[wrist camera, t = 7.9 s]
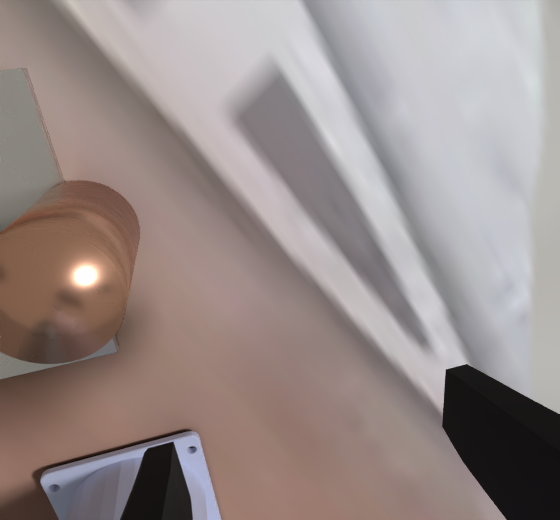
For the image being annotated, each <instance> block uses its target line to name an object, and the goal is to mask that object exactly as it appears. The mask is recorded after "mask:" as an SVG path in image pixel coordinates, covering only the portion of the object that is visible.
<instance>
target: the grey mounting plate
mask: <svg viewBox="0 0 560 520" xmlns="http://www.w3.org/2000/svg"><path fill="white" fill-rule="evenodd" d="M63 183H65V182H64V179H63V176H62V173H61V170H60V167H59V164H58V161H57V158H56V155H55V152H54V149H53V146H52V143H51V140H50V137H49V134H48V131H47V128H46V125H45V122H44V119H43V116H42V113H41V110H40V107H39V104H38V101H37V98H36V95H35V92H34V89H33V86H32V83H31V80H30V77H29V74H28V71H27V69H26V68H17V69H9V70H1V71H0V233H1V232H2V231H3V230H4V229H5V228H6V227H7V226H9V225H10V224H11V223H12V222H13V221H14V220H15V219H17V218H18V217H19V216H20V215H21V214H22V213H23V212H24V211H26V210H27V209H28V208H29V207H30V206H31V205H32V204H34V203H35V202H36V201H37V200H38V199H39V198H40V197H41V196H43V195H44V194H45V193H46V192H47V191H49V190H50V189H52V188H54V187H55V186H57V185H60V184H63ZM118 347H119V344H118V341H117V338H116V335H114V337H113V338H112V339H111V340H110V341H109V342H108V343H107V344H106V345H105V346H103V347H102V348H101V349H99V350H98V351H96V352H94V353H93V354H91V355H89V356H86V357H84V358H82V359H79V360H75V361H72V362H66V363H59V364H39V363H31V362H27V361H22V360H19V359H16V358H13V357H10V356H8V355H6V354H4V353H1V352H0V379H4V378H8V377H13V376H17V375H21V374H26V373H30V372H34V371H39V370H43V369H47V368H52V367H56V366H60V365H65V364H69V363H73V362H78V361H82V360H86V359H90V358H95V357H99V356H103V355H108V354H112V353H116V352H118Z"/></svg>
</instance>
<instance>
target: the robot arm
mask: <svg viewBox="0 0 560 520" xmlns="http://www.w3.org/2000/svg"><path fill="white" fill-rule="evenodd" d="M442 427H443V428H444V430H445V432H446V434H447V435H448V437H449V439H450V441H451V442H452V444H453V446H454V448H455V449H456V451H457V452H458V454H459V456H460V457H461V459H462V461H463V462H464V464H465V465H466V466H467V468H468V469H469V470H470V472H471V473H472V475H473V476H474V477H475V479H476V480H477V481H478V482H479V484H480V485H481V486H482V488H483V489H484V490H485V492H486V493H487V494H488V496H489V497H490V498H491V500H492V501H493V502H494V504H495V505H496V506H497V508H498V509H499V510H500V511H501V513H502V514H503V515H504V517H505V518H506V519H507V520H560V414H558V413H556V412H554V411H552V410H550V409H548V408H546V407H544V406H543V405H541V404H539V403H537V402H535V401H533V400H531V399H530V398H528V397H526V396H524V395H522V394H520V393H519V392H517V391H515V390H513V389H511V388H510V387H508V386H506V385H504V384H502V383H500V382H499V381H497V380H495V379H493V378H491V377H490V376H488V375H486V374H484V373H482V372H480V371H479V370H477V369H475V368H473V367H471V366H469V365H467V364H466V365H462V366H458V367H454V368H450V369H447V370H446V376H445V392H444V408H443V424H442ZM191 446H194V447H193V448H189V447H191ZM40 483H41V485H42V487H43V489H44V491H45V493H46V495H47V497H48V499H49V501H50V503H51V505H52V507H53V509H54V511H55V513H56V515H57V517H58V519H59V520H221V516H220V512H219V509H218V505H217V501H216V498H215V494H214V490H213V486H212V483H211V479H210V475H209V471H208V468H207V464H206V460H205V456H204V453H203V449H202V445H201V442H200V438H199V435H198V433H196V432H194V431H187V432H184V433H180V434H176V435H173V436H169V437H165V438H161V439H158V440H154V441H150V442H147V443H143V444H139V445H135V446H132V447H128V448H124V449H121V450H117V451H113V452H109V453H106V454H102V455H98V456H94V457H91V458H87V459H83V460H80V461H76V462H72V463H68V464H65V465H61V466H57V467H54V468H50V469H47V470H45V471H44V472H43V473H42V476H41V479H40ZM52 484H56V485H52Z"/></svg>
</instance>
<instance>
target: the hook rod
mask: <svg viewBox="0 0 560 520" xmlns="http://www.w3.org/2000/svg"><path fill="white" fill-rule="evenodd" d="M139 239H140V226H139V221H138V218H137V215H136V213H135V211H134V209H133V208H132V206H131V205H130V204H129V202H128V201H127V200H126V199H125V198H124V197H123V196H122V195H120V194H119V193H118V192H116V191H115V190H113V189H111V188H109V187H108V186H105V185H103V184H100V183H96V182H91V181H70V182H66V183H63V184H60V185H57V186H55V187H54V188H52V189H50V190H49V191H47V192H46V193H45V194H44V195H43V196H41V197H40V198H39V199H38V200H37V201H36V202H35V203H34V204H32V205H31V206H30V207H29V208H28V209H27V210H26V211H24V212H23V213H22V214H21V215H20V216H19V217H18V218H17V219H15V220H14V221H13V222H12V223H11V224H10V225H9V226H7V227H6V228H5V229H4V230H3V231H2V232H1V233H0V352H1V353H4V354H6V355H8V356H10V357H13V358H16V359H19V360H22V361H27V362H31V363H39V364H59V363H66V362H72V361H75V360H79V359H82V358H84V357H86V356H89V355H91V354H93V353H94V352H96V351H98V350H99V349H101V348H102V347H103V346H105V345H106V344H107V343H108V342H109V341H110V340H111V339H112V338H113V337H114V335H115V334H116V333H117V331H118V329H119V328H120V326H121V324H122V321H123V319H124V315H125V311H126V306H127V301H128V296H129V290H130V285H131V280H132V275H133V270H134V265H135V260H136V255H137V250H138V245H139Z"/></svg>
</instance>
